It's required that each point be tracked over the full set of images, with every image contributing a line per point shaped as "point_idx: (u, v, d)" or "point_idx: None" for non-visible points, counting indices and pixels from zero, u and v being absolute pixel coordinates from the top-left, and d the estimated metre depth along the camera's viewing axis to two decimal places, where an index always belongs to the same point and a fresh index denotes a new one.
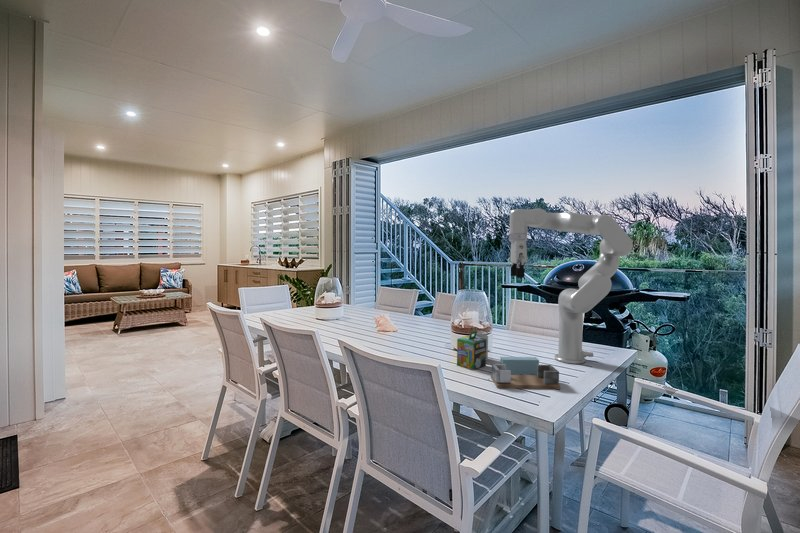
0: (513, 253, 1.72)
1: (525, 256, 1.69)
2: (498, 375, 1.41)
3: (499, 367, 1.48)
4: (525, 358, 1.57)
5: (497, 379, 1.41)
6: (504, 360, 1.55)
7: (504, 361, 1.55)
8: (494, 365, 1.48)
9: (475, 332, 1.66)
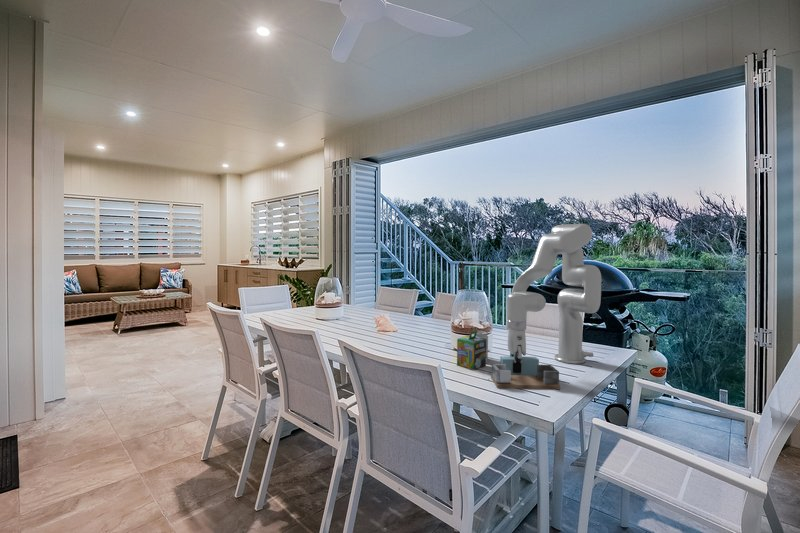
0: (511, 343, 1.55)
1: (524, 348, 1.52)
2: (498, 375, 1.41)
3: (499, 367, 1.48)
4: (525, 358, 1.57)
5: (497, 379, 1.41)
6: (504, 360, 1.55)
7: (504, 361, 1.55)
8: (494, 365, 1.48)
9: (475, 332, 1.66)
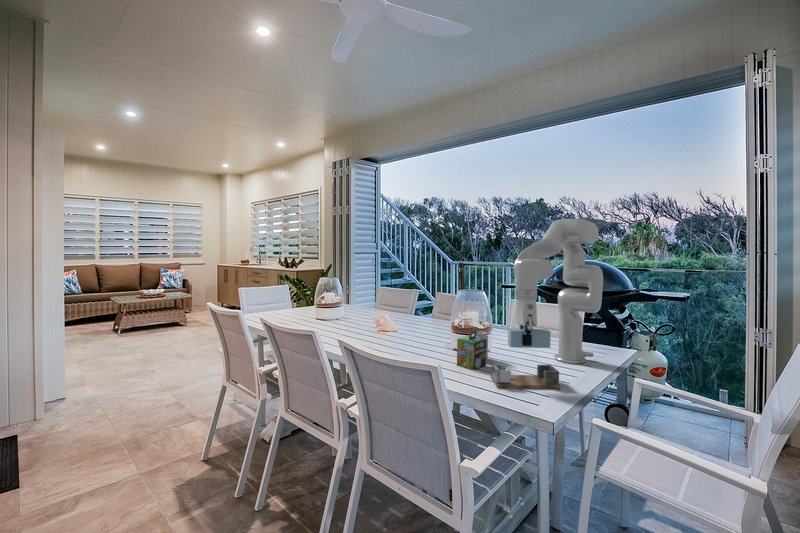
0: (520, 313, 1.42)
1: (535, 318, 1.39)
2: (498, 375, 1.41)
3: (499, 367, 1.48)
4: (536, 330, 1.44)
5: (497, 379, 1.41)
6: (513, 331, 1.42)
7: (512, 332, 1.42)
8: (494, 365, 1.48)
9: (475, 332, 1.66)
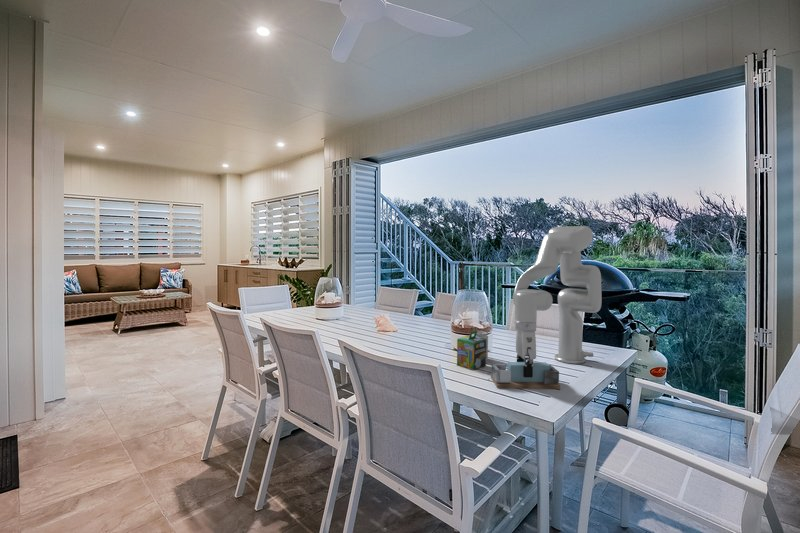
0: (519, 345, 1.43)
1: (534, 351, 1.40)
2: (498, 375, 1.41)
3: (499, 367, 1.48)
4: (535, 363, 1.45)
5: (497, 379, 1.41)
6: (512, 366, 1.43)
7: (512, 367, 1.43)
8: (494, 365, 1.48)
9: (475, 332, 1.66)
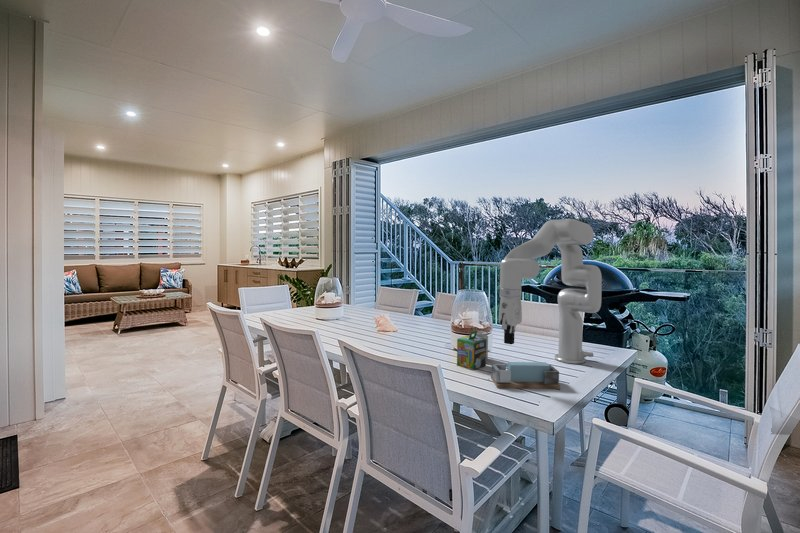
0: None
1: (508, 317, 1.39)
2: (498, 375, 1.41)
3: (499, 367, 1.48)
4: (535, 363, 1.45)
5: (497, 379, 1.41)
6: (512, 366, 1.43)
7: (512, 367, 1.43)
8: (494, 365, 1.48)
9: (475, 332, 1.66)
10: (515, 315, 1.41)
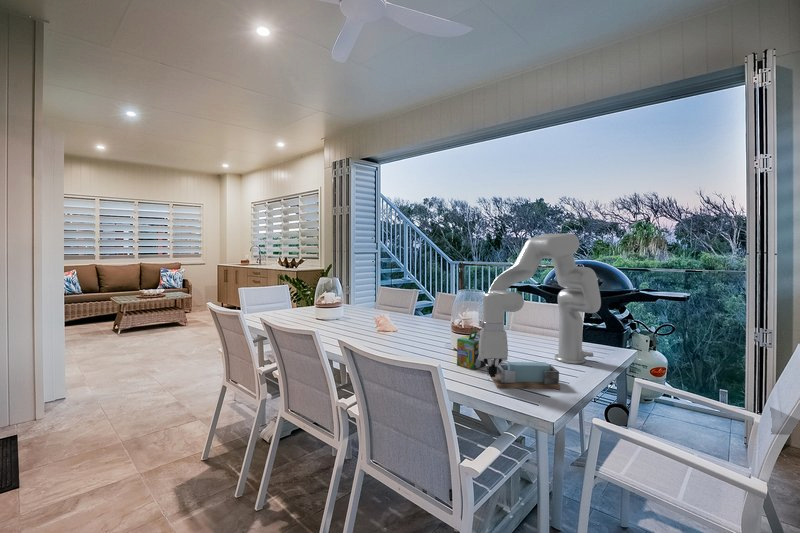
0: None
1: (479, 349, 1.43)
2: (503, 375, 1.41)
3: (503, 367, 1.48)
4: (535, 363, 1.45)
5: (502, 379, 1.41)
6: (512, 366, 1.43)
7: (512, 367, 1.43)
8: (498, 365, 1.48)
9: (475, 332, 1.66)
10: (490, 348, 1.42)
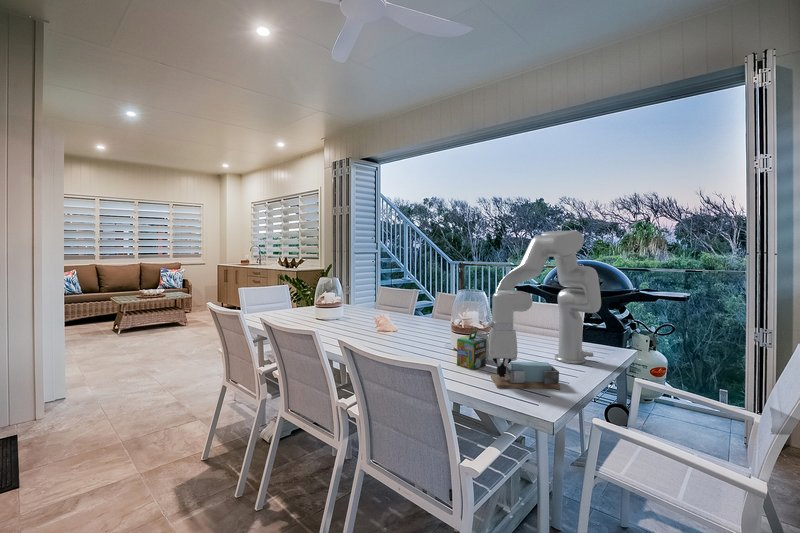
0: None
1: (489, 349, 1.43)
2: (512, 375, 1.41)
3: None
4: (537, 363, 1.45)
5: (511, 379, 1.41)
6: (514, 366, 1.43)
7: (514, 367, 1.43)
8: (507, 365, 1.47)
9: (475, 332, 1.66)
10: (499, 348, 1.42)
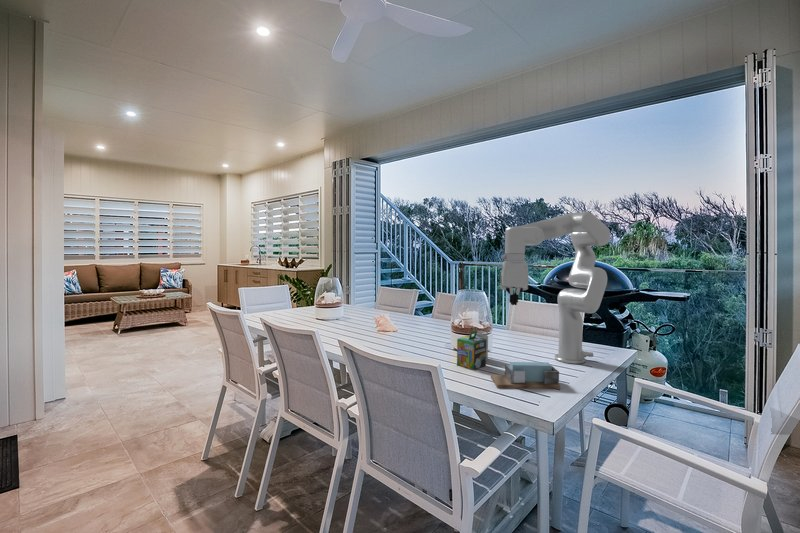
0: None
1: (502, 278, 1.55)
2: (512, 375, 1.41)
3: None
4: (537, 363, 1.45)
5: (511, 379, 1.41)
6: (514, 366, 1.43)
7: (514, 367, 1.43)
8: (508, 365, 1.47)
9: (475, 332, 1.66)
10: (512, 277, 1.54)
